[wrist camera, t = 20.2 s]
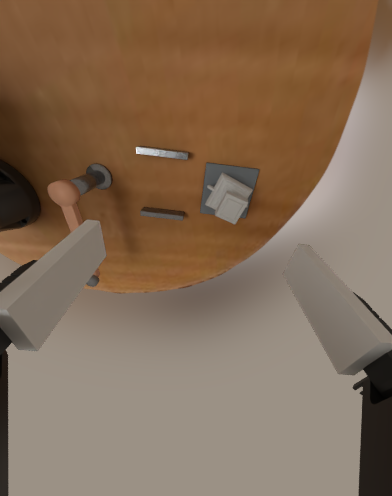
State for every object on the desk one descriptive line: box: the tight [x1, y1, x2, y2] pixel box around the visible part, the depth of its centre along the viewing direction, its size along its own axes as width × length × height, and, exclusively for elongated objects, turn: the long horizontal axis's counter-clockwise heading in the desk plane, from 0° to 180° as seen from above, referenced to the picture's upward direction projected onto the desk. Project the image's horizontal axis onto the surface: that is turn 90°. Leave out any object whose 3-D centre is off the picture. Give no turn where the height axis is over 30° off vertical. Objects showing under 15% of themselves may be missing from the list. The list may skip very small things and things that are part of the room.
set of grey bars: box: [69, 146, 189, 220], centre depth 32 cm, size 20×13×10 cm, turn 84°
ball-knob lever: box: [48, 179, 100, 287], centre depth 31 cm, size 20×4×2 cm, turn 177°
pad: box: [200, 163, 259, 218], centre depth 37 cm, size 10×10×1 cm
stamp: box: [205, 172, 253, 224], centre depth 33 cm, size 9×7×8 cm
